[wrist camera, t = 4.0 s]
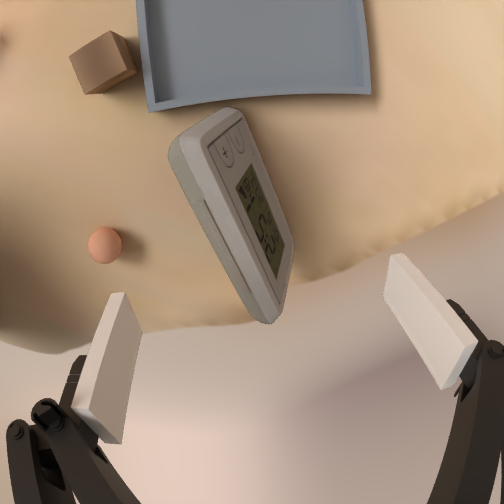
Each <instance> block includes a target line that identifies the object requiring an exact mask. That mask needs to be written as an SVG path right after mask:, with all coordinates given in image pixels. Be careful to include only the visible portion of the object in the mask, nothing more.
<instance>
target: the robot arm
mask: <svg viewBox="0 0 504 504" xmlns="http://www.w3.org/2000/svg"><path fill="white" fill-rule="evenodd" d="M383 299H384V300H385V302H386V303H387V305H388V306H389V308H390V309H391V311H392V312H393V313H394V315H395V317H396V318H397V320H398V321H399V323H400V324H401V326H402V327H403V329H404V331H405V332H406V334H407V335H408V337H409V338H410V340H411V342H412V343H413V345H414V346H415V348H416V349H417V351H418V353H419V354H420V356H421V358H422V359H423V361H424V363H425V364H426V366H427V368H428V369H429V371H430V372H431V374H432V376H433V378H434V379H435V381H436V383H437V385H438V386H439V388H440V390H443V389H445V388H448V387H450V386H452V385H454V384H455V382H456V381H457V379H458V377H459V376H460V378H461V380H462V383H461V384H460V386H459V387H458V389H457V390H456V392H455V394H454V397H456V395H457V394H458V393H459V395H458V400H457V405H456V410H455V415H454V419H453V424H452V428H451V432H450V436H449V439H448V443H447V447H446V451H445V454H444V457H443V461H442V463H441V467H440V470H439V473H438V476H437V478H436V481H435V484H434V487H433V490H432V492H431V495H430V497H429V500H428V502H427V504H488V503H489V500H490V497H491V493H492V489H493V485H494V481H495V477H496V472H497V467H498V463H499V457H500V452H501V461H502V482H501V503H500V504H504V346H503V345H502V344H501V343H500V342H497V341H495V340H490V341H489V340H488V339H487V338H486V337H485V336H484V334H483V333H482V332H481V331H480V329H479V328H478V327H477V326H476V324H475V323H474V322H473V321H472V320H470V317H469V316H468V315H467V314H466V313H465V311H464V310H463V309H462V308H461V306H460V305H459V304H457V303H456V302H454V301H453V300H451V299H449V300H445V299H444V298H443V297H442V296H441V294H440V293H439V292H438V291H437V290H436V289H435V288H434V286H433V285H432V284H431V283H430V282H429V281H428V280H427V279H426V277H424V275H423V274H422V273H421V272H420V271H419V270H418V269H417V268H416V266H415V265H414V264H413V263H412V262H411V261H410V260H409V259H408V258H407V257H406V256H405V255H404V254H403V253H398V254H393V255H390V260H389V267H388V272H387V278H386V283H385V289H384V294H383ZM141 336H142V331H141V329H140V327H139V325H138V322H137V320H136V317H135V315H134V313H133V310H132V308H131V305H130V303H129V300H128V298H127V295H126V293H125V292H119V293H111V295H110V298H109V300H108V302H107V305H106V307H105V310H104V312H103V315H102V317H101V320H100V322H99V325H98V328H97V330H96V333H95V336H94V338H93V341H92V344H91V347H90V349H89V352H88V355H80V356H79V357H78V358H77V359H76V361H75V362H74V363H73V365H72V367H71V370H70V375H69V376H68V379H67V383H66V385H65V387H64V390H63V394H62V396H61V400H60V403H59V405H58V404H57V403H56V402H55V400H53V399H51V398H44V399H42V400H40V401H39V402H37V403H36V404H35V406H34V407H33V409H32V412H31V419H32V421H34V423H35V425H30V426H29V425H28V424H27V423H26V422H25V421H24V420H21V419H18V420H15V421H13V422H12V423H11V424H10V425H9V426H8V429H7V433H6V441H7V453H8V463H9V471H10V479H11V485H12V491H13V496H14V502H15V504H76V502H75V499H74V495H73V492H74V494H75V496H76V498H77V499H78V501H79V503H80V504H141V503H140V502H139V500H138V499H137V498H136V497H135V496H134V494H133V493H132V492H131V490H130V489H129V488H128V486H127V485H126V484H125V482H124V481H123V480H122V478H121V477H120V476H119V474H118V473H117V471H116V470H115V469H114V467H113V466H112V464H111V463H110V462H109V460H108V458H107V457H106V455H105V454H104V452H103V451H102V449H101V448H100V446H99V445H98V444H97V443H98V438H100V439H101V440H102V441H104V443H110V444H122V437H123V430H124V423H125V417H126V411H127V405H128V399H129V394H130V389H131V383H132V378H133V373H134V368H135V363H136V358H137V354H138V349H139V345H140V340H141ZM72 491H73V492H72Z"/></svg>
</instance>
